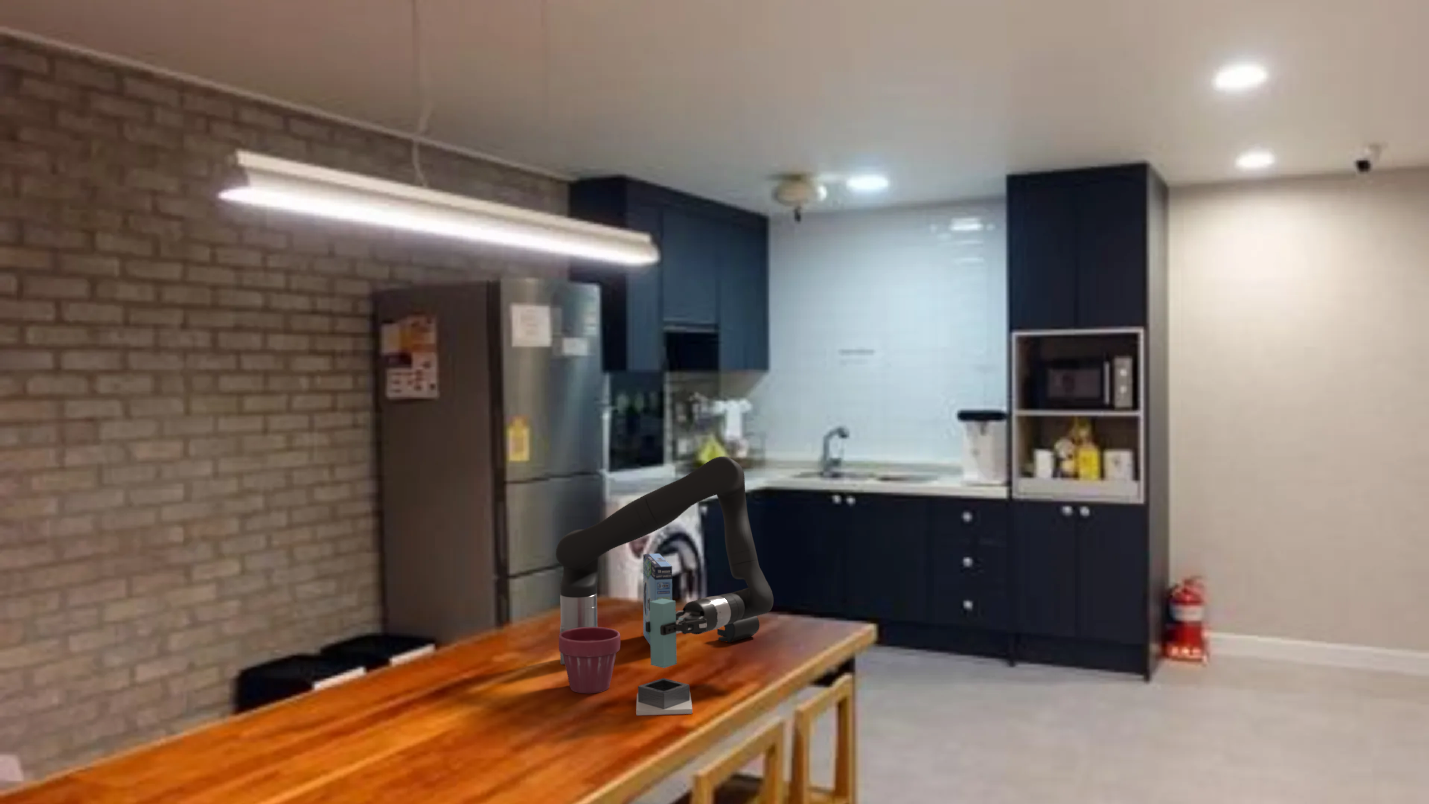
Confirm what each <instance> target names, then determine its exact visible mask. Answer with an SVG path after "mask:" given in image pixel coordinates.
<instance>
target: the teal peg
mask: <svg viewBox="0 0 1429 804" xmlns="http://www.w3.org/2000/svg"><path fill="white" fill-rule="evenodd" d="M676 605H677V604H676V600H673V599H672V600H668V599H659V600H655V601H651V602H650V643H651V646H650V666H653V667H657V668H658V667H659V668H662V669H665V668H668V667H671V666H675V665H677V664H678V663H677V662H678V661H677V658H678V657H677V633H675V632H674V633H671V634H668V635H661V634H660V626H661V625H664V624H668V623H671V622H674V621H676V611H677V610H676Z"/></svg>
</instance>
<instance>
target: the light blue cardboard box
mask: <svg viewBox="0 0 1429 804" xmlns="http://www.w3.org/2000/svg"><path fill="white" fill-rule="evenodd" d="M642 557H643V559H642V560H643V562H642V564H643V565H642V566H643V569H642V571H643V572H642V577H643V579H642V581H643V582H642V588H643V589H642V590H643V598H642V600H643V601H642V602H643V606H642V607H643V611H642V612H643V615H642V616H643V618H642V620H643V623H642V625H643V627H642V628H643V629H642V631H643V636H644V638H645V639H646V641H647V643H648V644H649V646H650V647H651V643H650V632H646V625H645V624H646V622H648V621H650V602H651V601H655V600H659V599H668V600H673V566H672V564H670V563H669V562H668V561H667V560H666V558H664V557H663V556H662V555H661V553H644V554H643V555H642Z"/></svg>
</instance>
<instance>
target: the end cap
mask: <svg viewBox="0 0 1429 804" xmlns="http://www.w3.org/2000/svg"><path fill="white" fill-rule="evenodd" d="M723 627H724V629H721V628H718V629H716V630H717V633H716V634H717V635H718V636H719V637H717V638H718V641H720V640H721V642H724V641H728V642H727V643H732V641H733V642H736V641H739V640H743V639H747V638H752V637H753V636H755V635H756V634H757V633H758V632H759V630H760V619H759V617H758V616H755V617H751V618H748V619H743V620H739V621H736V622H734V623H731V624H728V625H724V626H723Z"/></svg>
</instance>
